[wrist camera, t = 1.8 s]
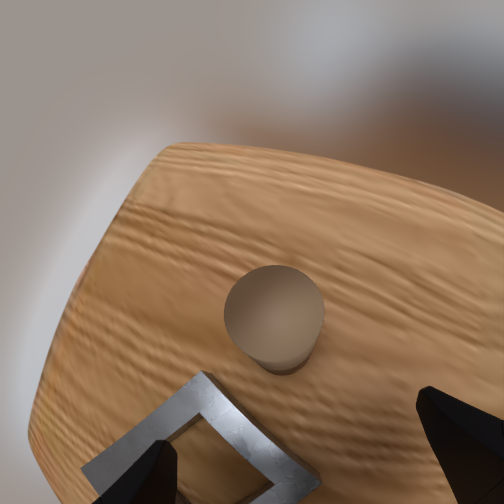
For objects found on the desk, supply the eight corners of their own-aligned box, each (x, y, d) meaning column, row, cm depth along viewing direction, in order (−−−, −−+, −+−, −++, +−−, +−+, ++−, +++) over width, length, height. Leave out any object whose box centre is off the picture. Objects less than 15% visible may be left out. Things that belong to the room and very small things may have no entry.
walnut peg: (322, 345, 20) (344, 306, 11) (283, 386, 19) (274, 382, 10) (282, 310, 22) (272, 248, 13) (243, 348, 21) (204, 312, 12)
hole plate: (319, 473, 15) (322, 484, 12) (180, 555, 10) (168, 567, 8) (211, 373, 20) (199, 370, 17) (96, 465, 16) (78, 468, 13)
